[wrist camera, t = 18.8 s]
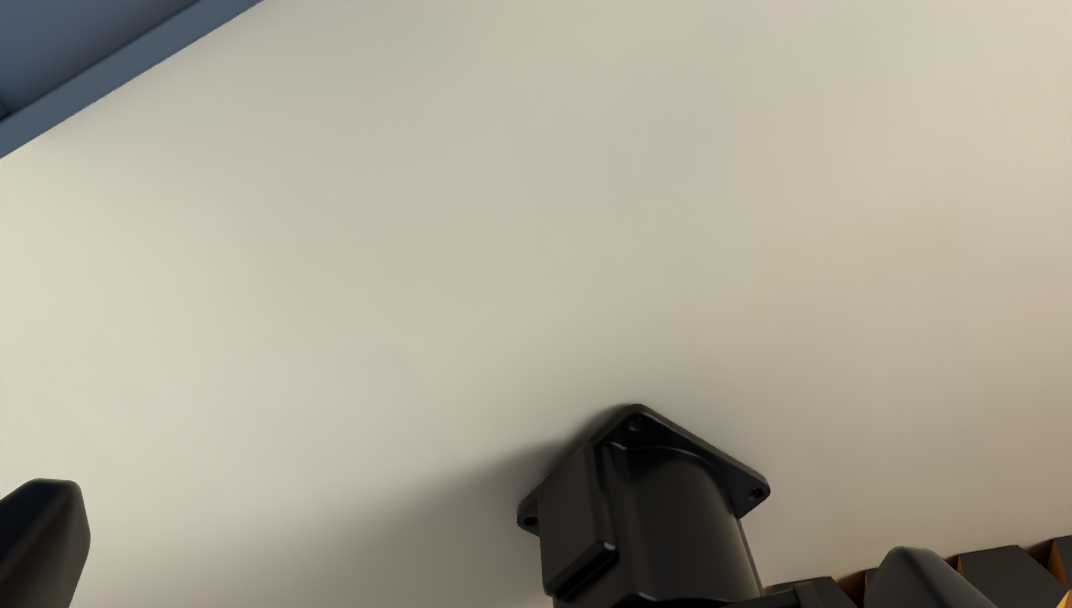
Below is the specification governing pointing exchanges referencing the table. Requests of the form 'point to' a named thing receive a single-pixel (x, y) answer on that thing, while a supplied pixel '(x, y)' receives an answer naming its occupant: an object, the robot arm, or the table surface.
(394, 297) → the table surface
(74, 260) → the table surface
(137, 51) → the blue rectangular tray
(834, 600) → the pan flute
